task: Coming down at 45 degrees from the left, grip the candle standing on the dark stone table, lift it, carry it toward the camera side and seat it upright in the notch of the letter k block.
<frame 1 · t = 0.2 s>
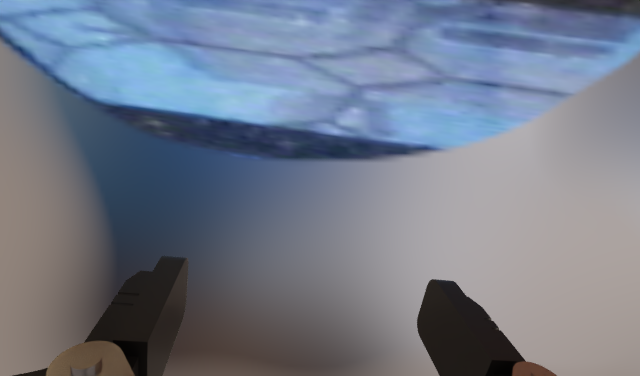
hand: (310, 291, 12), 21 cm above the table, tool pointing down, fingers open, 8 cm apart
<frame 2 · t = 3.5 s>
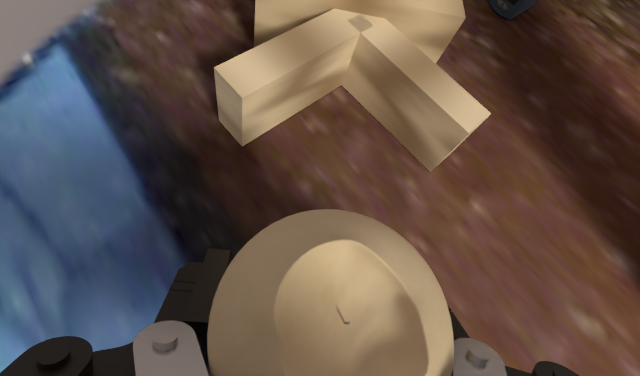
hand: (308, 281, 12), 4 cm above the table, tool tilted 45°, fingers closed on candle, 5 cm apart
candle: (290, 341, 16), on the table, touching gripper
letter k block: (340, 119, 21), on the table
vaping device: (509, 5, 29), on the table
when the fingers open (6 cm above the table, at t = 7.6 s): candle drops 2 cm, on the table.
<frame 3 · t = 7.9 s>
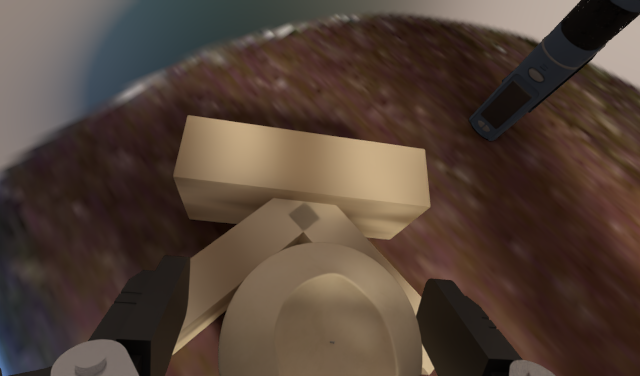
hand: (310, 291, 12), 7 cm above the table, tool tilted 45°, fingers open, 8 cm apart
candle: (287, 348, 17), on the table
letter k block: (288, 306, 18), on the table
vaping device: (493, 119, 26), on the table
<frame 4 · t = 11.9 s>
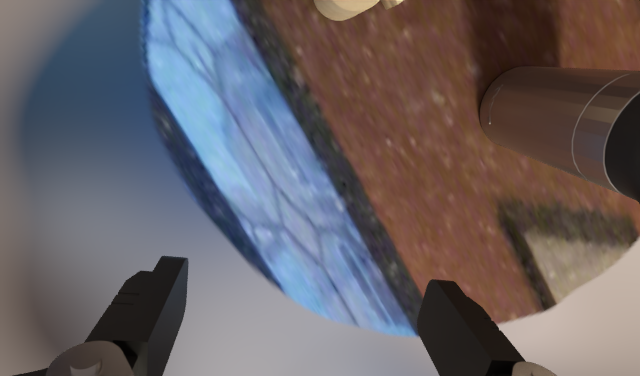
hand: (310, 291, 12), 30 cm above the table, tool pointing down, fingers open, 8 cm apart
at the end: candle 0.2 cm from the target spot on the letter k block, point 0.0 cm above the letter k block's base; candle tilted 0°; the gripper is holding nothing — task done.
